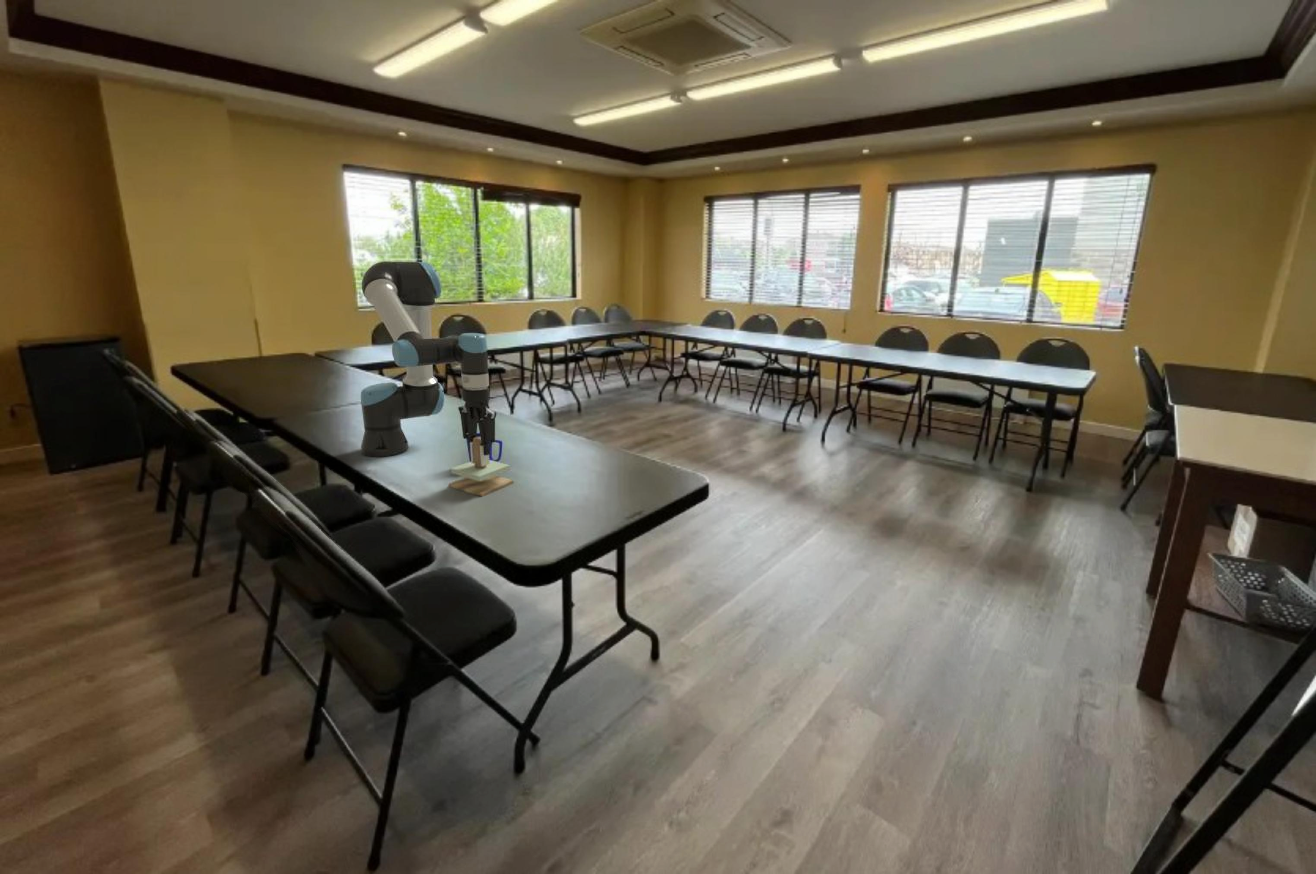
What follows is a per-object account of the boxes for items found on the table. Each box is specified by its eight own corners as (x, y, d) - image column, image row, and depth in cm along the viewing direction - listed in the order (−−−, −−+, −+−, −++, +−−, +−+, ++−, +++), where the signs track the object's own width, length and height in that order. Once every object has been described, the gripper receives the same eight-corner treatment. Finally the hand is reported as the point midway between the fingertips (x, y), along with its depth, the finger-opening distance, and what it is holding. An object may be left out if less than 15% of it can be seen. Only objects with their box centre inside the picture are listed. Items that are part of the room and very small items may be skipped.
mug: (497, 471, 187) (495, 442, 184) (463, 467, 189) (461, 438, 186) (508, 463, 195) (507, 435, 192) (475, 459, 197) (474, 432, 194)
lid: (451, 473, 172) (448, 439, 169) (481, 462, 182) (479, 430, 179) (479, 481, 166) (477, 446, 163) (509, 469, 176) (508, 437, 173)
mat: (448, 486, 173) (448, 483, 173) (481, 473, 184) (481, 471, 184) (481, 496, 167) (481, 493, 167) (513, 482, 178) (513, 480, 177)
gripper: (445, 385, 167) (451, 461, 174) (486, 393, 160) (490, 472, 166) (465, 381, 174) (470, 455, 180) (505, 388, 166) (509, 465, 173)
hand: (480, 463), depth 173 cm, fingers closed on lid, 3 cm apart
